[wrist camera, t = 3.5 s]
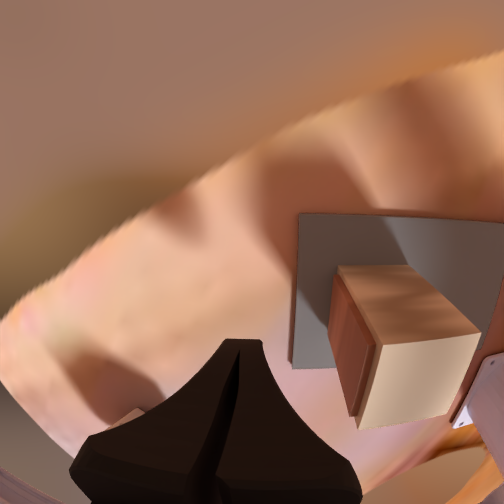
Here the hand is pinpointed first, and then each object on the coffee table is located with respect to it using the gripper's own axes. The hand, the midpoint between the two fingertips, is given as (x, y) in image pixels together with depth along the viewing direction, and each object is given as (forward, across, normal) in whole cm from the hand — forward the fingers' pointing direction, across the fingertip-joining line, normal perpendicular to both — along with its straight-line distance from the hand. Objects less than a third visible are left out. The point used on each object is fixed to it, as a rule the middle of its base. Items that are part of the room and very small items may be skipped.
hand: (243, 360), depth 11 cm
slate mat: (+5, -9, 0) cm, 11 cm away
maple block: (+5, -6, 0) cm, 8 cm away
